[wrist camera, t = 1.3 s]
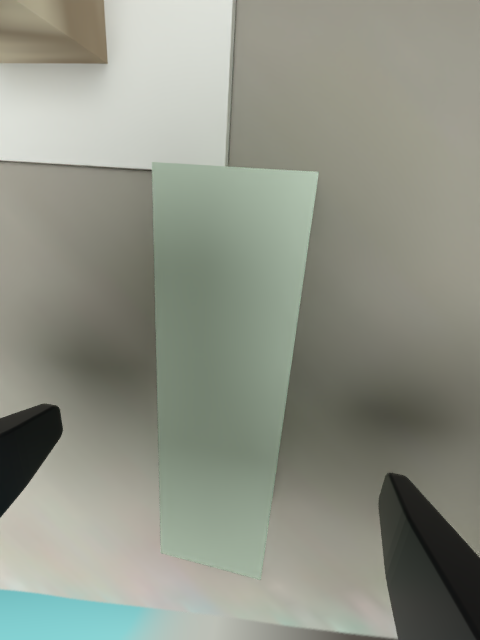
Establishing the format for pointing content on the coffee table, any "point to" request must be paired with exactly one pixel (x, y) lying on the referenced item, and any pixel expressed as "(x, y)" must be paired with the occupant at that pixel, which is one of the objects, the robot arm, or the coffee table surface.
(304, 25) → the coffee table surface
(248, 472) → the lintel
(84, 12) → the pillar
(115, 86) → the mat
